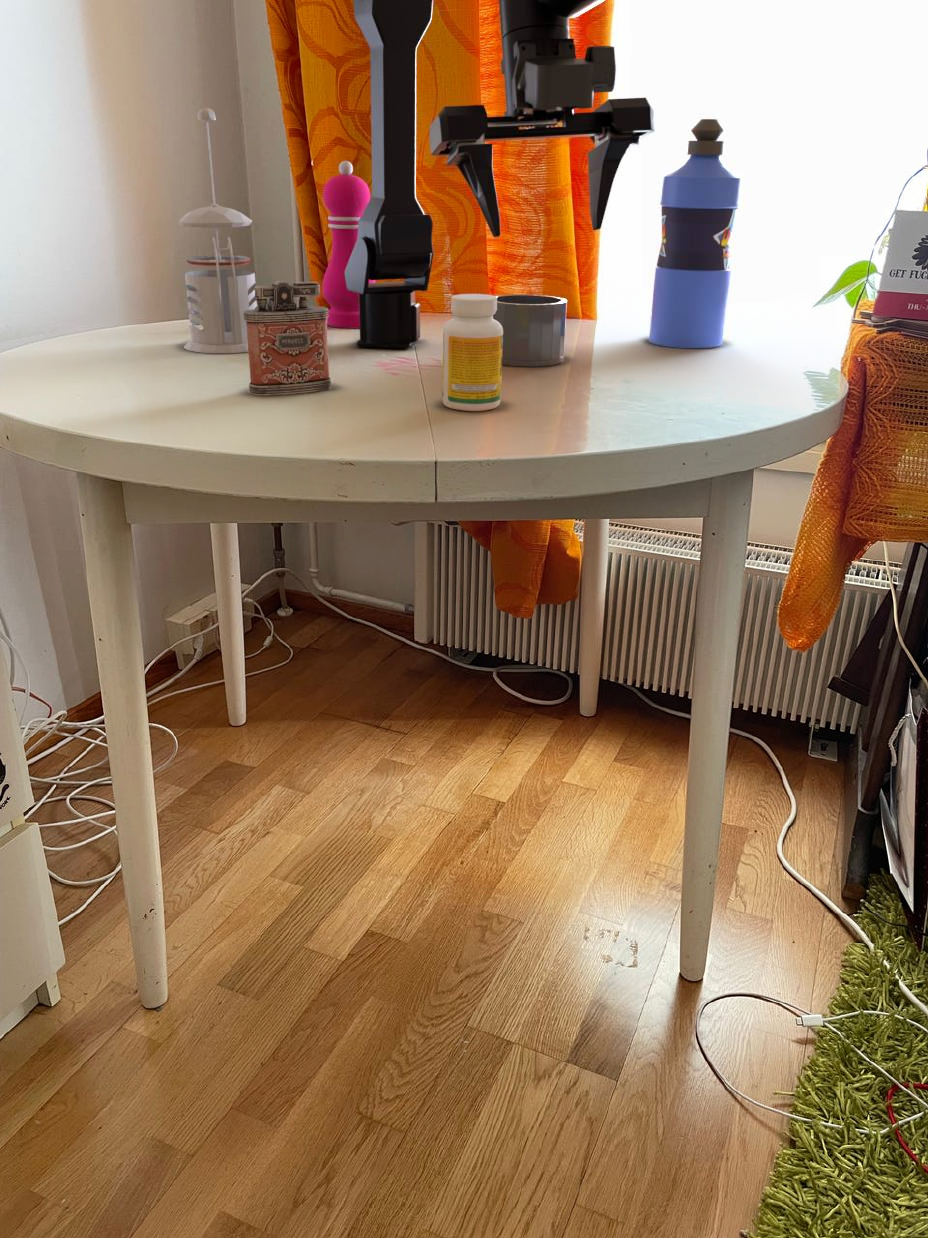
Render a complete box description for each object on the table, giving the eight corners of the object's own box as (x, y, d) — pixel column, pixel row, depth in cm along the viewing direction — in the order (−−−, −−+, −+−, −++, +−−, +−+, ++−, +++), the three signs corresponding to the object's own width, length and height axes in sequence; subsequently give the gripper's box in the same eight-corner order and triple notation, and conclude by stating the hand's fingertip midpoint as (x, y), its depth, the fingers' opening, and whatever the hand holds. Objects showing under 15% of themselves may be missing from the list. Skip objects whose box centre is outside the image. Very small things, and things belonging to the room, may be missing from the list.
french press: (262, 337, 122) (246, 110, 112) (276, 353, 112) (260, 106, 102) (180, 340, 120) (156, 108, 109) (187, 357, 110) (161, 103, 99)
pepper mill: (368, 329, 129) (364, 160, 120) (316, 327, 130) (308, 159, 122) (384, 321, 135) (381, 161, 127) (333, 319, 137) (327, 160, 128)
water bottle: (640, 344, 122) (660, 117, 111) (656, 333, 130) (676, 120, 119) (716, 350, 119) (745, 117, 108) (728, 339, 127) (755, 120, 116)
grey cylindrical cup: (481, 364, 109) (482, 303, 106) (490, 350, 116) (491, 293, 114) (561, 367, 108) (565, 305, 105) (565, 353, 115) (568, 295, 113)
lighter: (255, 397, 92) (247, 284, 88) (245, 389, 95) (236, 280, 91) (336, 389, 96) (332, 281, 92) (324, 382, 99) (319, 277, 94)
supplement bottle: (433, 401, 92) (433, 293, 88) (484, 396, 94) (486, 291, 90) (458, 414, 88) (459, 301, 83) (511, 408, 90) (515, 298, 86)
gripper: (444, 5, 74) (462, 227, 78) (677, -1, 77) (683, 212, 81) (420, 51, 85) (437, 244, 89) (626, 44, 88) (634, 231, 92)
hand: (547, 233), depth 87 cm, fingers open, 9 cm apart
